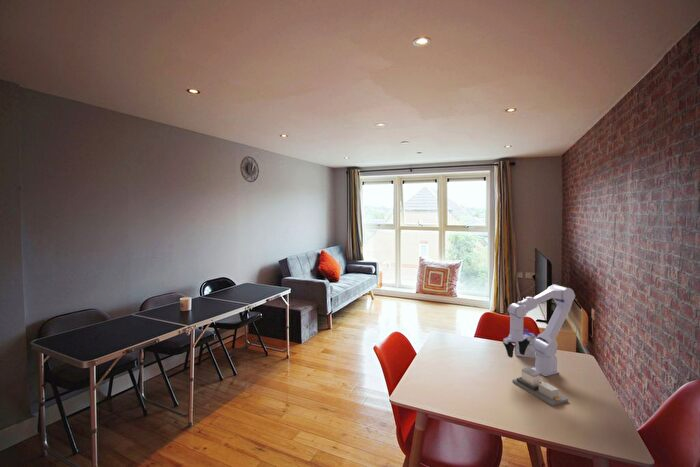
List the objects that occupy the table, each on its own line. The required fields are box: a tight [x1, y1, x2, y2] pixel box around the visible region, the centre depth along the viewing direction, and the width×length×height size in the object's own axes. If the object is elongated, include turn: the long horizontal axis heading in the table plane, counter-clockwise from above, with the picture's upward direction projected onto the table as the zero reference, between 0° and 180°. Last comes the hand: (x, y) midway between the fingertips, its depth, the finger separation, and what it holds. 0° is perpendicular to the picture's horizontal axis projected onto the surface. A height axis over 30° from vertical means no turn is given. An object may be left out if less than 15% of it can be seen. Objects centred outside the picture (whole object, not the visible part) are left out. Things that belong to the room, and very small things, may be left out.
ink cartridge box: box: [514, 328, 537, 359], centre depth 175 cm, size 10×6×14 cm, turn 72°
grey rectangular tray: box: [512, 376, 569, 407], centre depth 139 cm, size 9×20×5 cm, turn 20°
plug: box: [521, 367, 541, 387], centre depth 143 cm, size 4×6×6 cm, turn 20°
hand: (516, 355), depth 154 cm, fingers open, 7 cm apart
